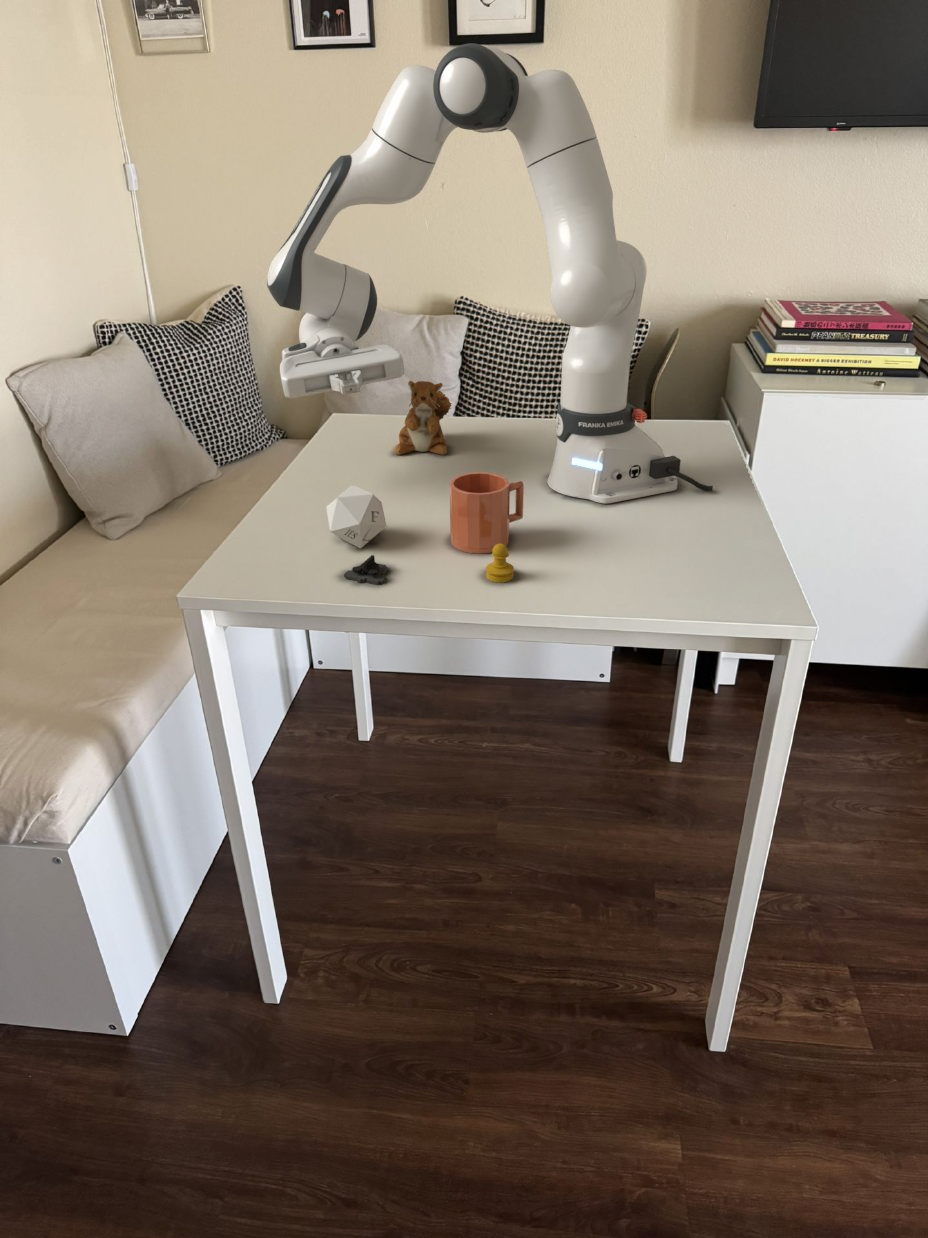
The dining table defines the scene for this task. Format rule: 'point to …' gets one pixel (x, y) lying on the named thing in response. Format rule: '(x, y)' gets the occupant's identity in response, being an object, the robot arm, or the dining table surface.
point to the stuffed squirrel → (424, 420)
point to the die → (356, 516)
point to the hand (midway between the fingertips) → (351, 389)
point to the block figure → (368, 572)
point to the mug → (482, 511)
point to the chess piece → (499, 565)
